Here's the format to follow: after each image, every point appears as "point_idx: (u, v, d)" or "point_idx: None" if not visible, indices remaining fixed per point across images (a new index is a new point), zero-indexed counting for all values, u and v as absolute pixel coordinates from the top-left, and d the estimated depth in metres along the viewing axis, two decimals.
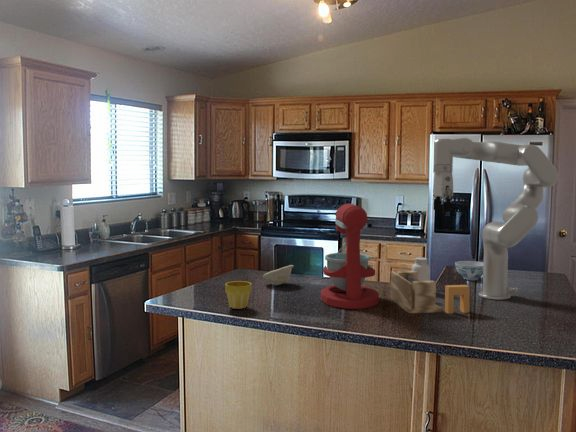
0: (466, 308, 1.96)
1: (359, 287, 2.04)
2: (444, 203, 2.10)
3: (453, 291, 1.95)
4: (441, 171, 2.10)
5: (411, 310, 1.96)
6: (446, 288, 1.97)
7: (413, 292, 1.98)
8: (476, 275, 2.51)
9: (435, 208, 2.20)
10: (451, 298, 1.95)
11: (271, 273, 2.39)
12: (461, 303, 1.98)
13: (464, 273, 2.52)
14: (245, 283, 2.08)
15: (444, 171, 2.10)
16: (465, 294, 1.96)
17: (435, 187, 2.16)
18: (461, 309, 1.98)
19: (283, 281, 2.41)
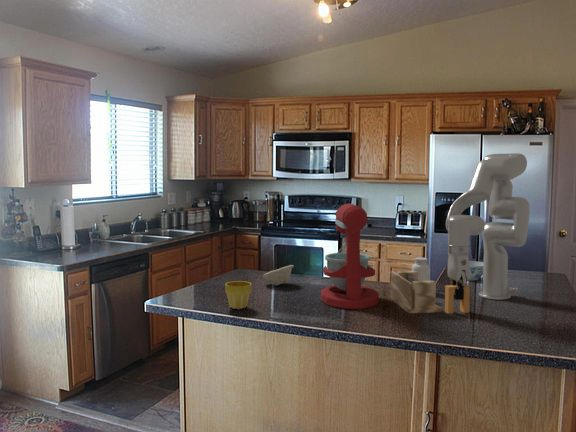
0: (466, 308, 1.96)
1: (359, 287, 2.04)
2: (456, 290, 1.94)
3: (453, 291, 1.95)
4: (456, 253, 1.92)
5: (411, 310, 1.96)
6: (446, 288, 1.97)
7: (413, 292, 1.98)
8: (476, 275, 2.51)
9: None
10: (451, 298, 1.95)
11: (271, 273, 2.39)
12: (461, 303, 1.98)
13: None
14: (245, 283, 2.08)
15: (460, 254, 1.92)
16: (465, 294, 1.96)
17: (449, 269, 1.97)
18: (461, 309, 1.98)
19: (283, 281, 2.41)
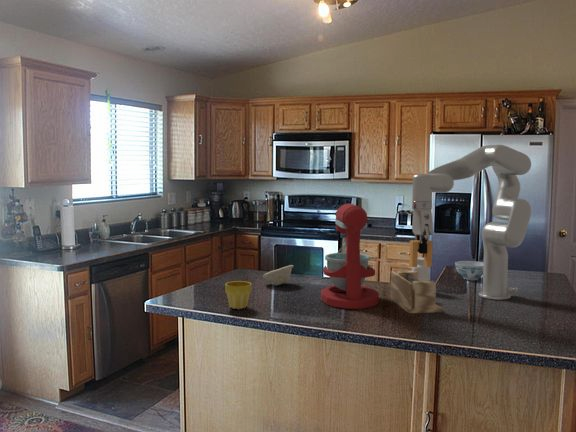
0: (429, 262, 2.04)
1: (359, 287, 2.04)
2: (420, 244, 2.02)
3: (417, 245, 2.03)
4: (420, 208, 2.00)
5: (411, 310, 1.96)
6: (410, 243, 2.04)
7: (413, 292, 1.98)
8: (476, 275, 2.51)
9: None
10: (415, 252, 2.03)
11: (271, 273, 2.39)
12: (425, 258, 2.05)
13: (464, 273, 2.52)
14: (245, 283, 2.08)
15: (423, 208, 1.99)
16: (428, 248, 2.03)
17: (414, 224, 2.05)
18: (425, 263, 2.06)
19: (283, 281, 2.41)
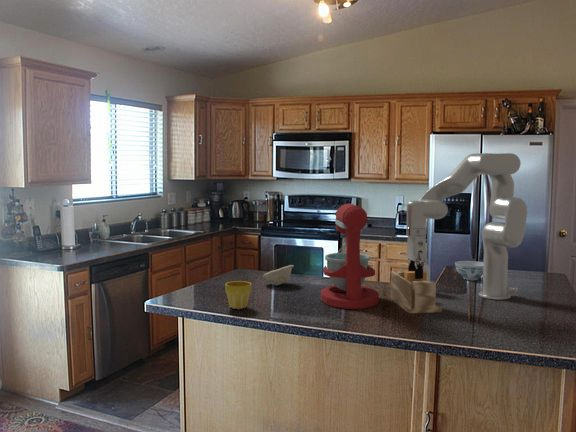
0: None
1: (359, 287, 2.04)
2: (416, 270, 2.03)
3: (411, 276, 2.05)
4: (414, 235, 2.02)
5: (411, 310, 1.96)
6: (405, 274, 2.07)
7: (413, 292, 1.98)
8: (476, 275, 2.51)
9: None
10: None
11: (271, 273, 2.39)
12: None
13: (464, 273, 2.52)
14: (245, 283, 2.08)
15: (417, 235, 2.02)
16: (423, 279, 2.06)
17: (408, 250, 2.08)
18: None
19: (283, 281, 2.41)
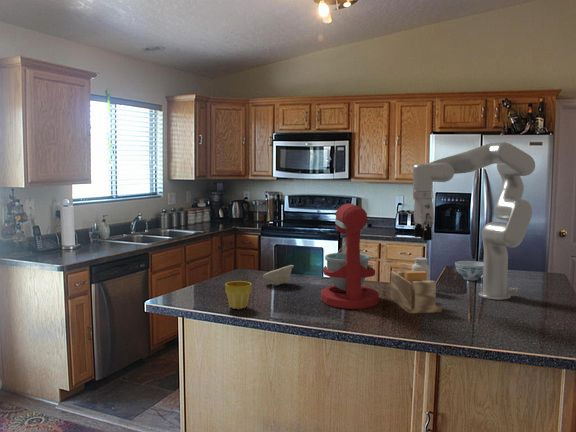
0: None
1: (359, 287, 2.04)
2: (425, 231, 2.02)
3: (411, 276, 2.05)
4: (421, 198, 2.02)
5: (411, 310, 1.96)
6: (405, 274, 2.07)
7: (413, 292, 1.98)
8: (476, 275, 2.51)
9: (416, 235, 2.11)
10: None
11: (271, 273, 2.39)
12: None
13: (464, 273, 2.52)
14: (245, 283, 2.08)
15: (424, 198, 2.02)
16: (423, 279, 2.06)
17: (415, 214, 2.08)
18: None
19: (283, 281, 2.41)
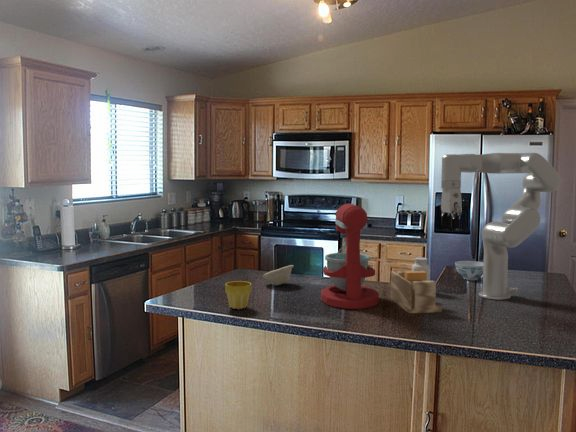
0: None
1: (359, 287, 2.04)
2: (452, 220, 2.07)
3: (411, 276, 2.05)
4: (449, 187, 2.07)
5: (411, 310, 1.96)
6: (405, 274, 2.07)
7: (413, 292, 1.98)
8: (476, 275, 2.51)
9: (443, 224, 2.16)
10: None
11: (271, 273, 2.39)
12: None
13: (464, 273, 2.52)
14: (245, 283, 2.08)
15: (452, 187, 2.07)
16: (423, 279, 2.06)
17: (443, 203, 2.13)
18: None
19: (283, 281, 2.41)
